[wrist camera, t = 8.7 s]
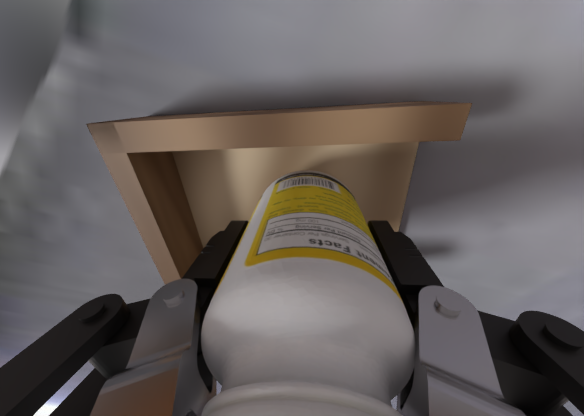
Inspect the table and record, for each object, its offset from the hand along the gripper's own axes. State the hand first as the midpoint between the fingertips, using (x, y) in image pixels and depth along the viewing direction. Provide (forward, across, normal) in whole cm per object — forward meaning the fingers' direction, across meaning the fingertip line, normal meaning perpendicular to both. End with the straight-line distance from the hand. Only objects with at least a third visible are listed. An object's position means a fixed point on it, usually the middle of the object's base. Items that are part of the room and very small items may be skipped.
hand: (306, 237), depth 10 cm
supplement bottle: (+2, 0, 0) cm, 2 cm away
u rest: (+4, +2, 0) cm, 4 cm away
